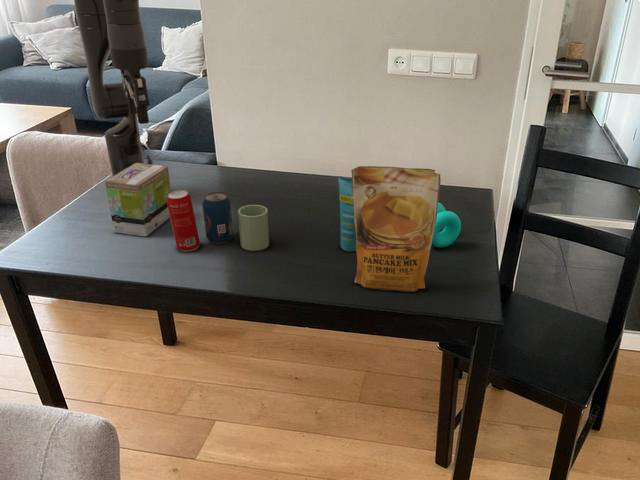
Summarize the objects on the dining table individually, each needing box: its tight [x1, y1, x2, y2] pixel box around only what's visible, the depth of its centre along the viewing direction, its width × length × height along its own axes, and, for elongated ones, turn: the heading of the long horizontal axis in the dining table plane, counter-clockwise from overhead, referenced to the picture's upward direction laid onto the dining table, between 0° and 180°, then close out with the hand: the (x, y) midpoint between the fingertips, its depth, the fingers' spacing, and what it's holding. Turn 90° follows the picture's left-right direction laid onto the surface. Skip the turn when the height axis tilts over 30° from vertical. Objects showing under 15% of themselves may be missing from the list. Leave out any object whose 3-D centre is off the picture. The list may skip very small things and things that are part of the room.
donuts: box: [431, 201, 462, 249], centre depth 154 cm, size 10×10×10 cm
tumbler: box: [237, 204, 270, 252], centre depth 149 cm, size 7×7×10 cm
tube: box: [337, 175, 356, 252], centre depth 147 cm, size 7×5×19 cm, turn 72°
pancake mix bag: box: [350, 165, 442, 293], centre depth 130 cm, size 7×19×28 cm, turn 84°
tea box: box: [104, 163, 172, 237], centre depth 156 cm, size 15×10×15 cm, turn 168°
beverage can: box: [166, 189, 201, 253], centre depth 145 cm, size 6×6×15 cm
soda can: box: [201, 191, 234, 245], centre depth 151 cm, size 7×7×12 cm
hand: (139, 118), depth 136 cm, fingers open, 8 cm apart
